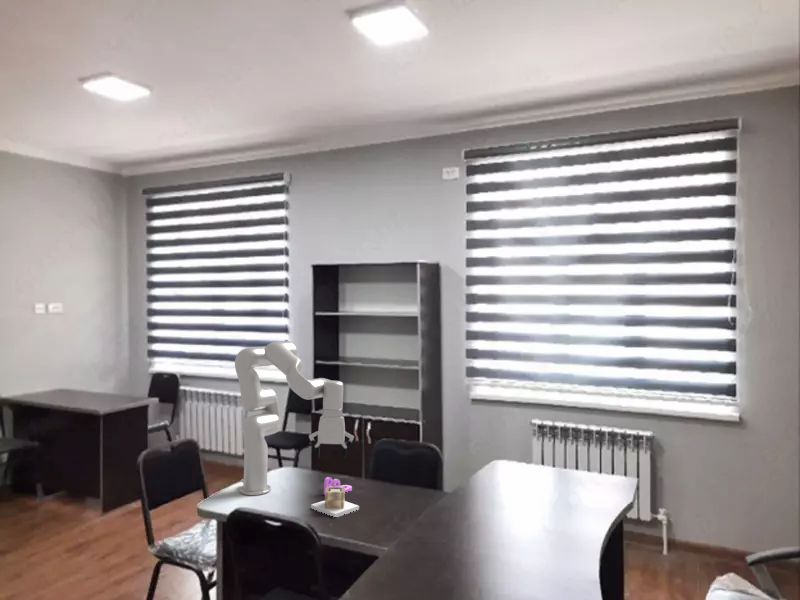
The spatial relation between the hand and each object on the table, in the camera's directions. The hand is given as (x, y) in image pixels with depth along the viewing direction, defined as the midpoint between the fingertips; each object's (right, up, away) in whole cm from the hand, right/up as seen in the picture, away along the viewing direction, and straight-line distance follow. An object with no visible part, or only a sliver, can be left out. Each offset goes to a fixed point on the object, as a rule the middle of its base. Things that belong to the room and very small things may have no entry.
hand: (330, 457), depth 217 cm
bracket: (+1, -20, +19) cm, 28 cm away
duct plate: (+2, -19, -2) cm, 19 cm away
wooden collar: (+2, -18, -1) cm, 18 cm away
